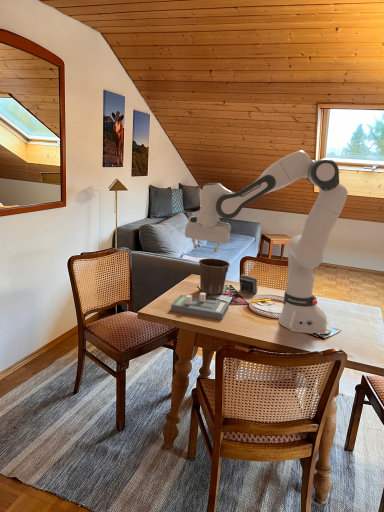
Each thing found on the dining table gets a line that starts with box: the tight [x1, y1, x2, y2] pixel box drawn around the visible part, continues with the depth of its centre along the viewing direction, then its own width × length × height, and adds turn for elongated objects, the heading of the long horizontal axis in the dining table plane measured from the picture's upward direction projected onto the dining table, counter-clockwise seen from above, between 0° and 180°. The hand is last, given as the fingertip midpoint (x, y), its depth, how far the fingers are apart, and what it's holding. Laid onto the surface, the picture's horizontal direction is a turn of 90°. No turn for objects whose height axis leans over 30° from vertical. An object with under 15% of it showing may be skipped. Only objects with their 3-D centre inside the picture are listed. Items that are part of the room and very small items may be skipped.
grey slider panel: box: [170, 294, 230, 321], centre depth 183 cm, size 24×14×3 cm, turn 74°
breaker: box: [185, 294, 193, 305], centre depth 181 cm, size 2×3×4 cm
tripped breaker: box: [198, 291, 207, 302], centre depth 185 cm, size 2×3×4 cm
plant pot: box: [198, 258, 230, 296], centre depth 207 cm, size 16×16×16 cm
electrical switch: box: [239, 273, 258, 295], centre depth 210 cm, size 9×5×9 cm, turn 57°
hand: (205, 250), depth 176 cm, fingers open, 8 cm apart
